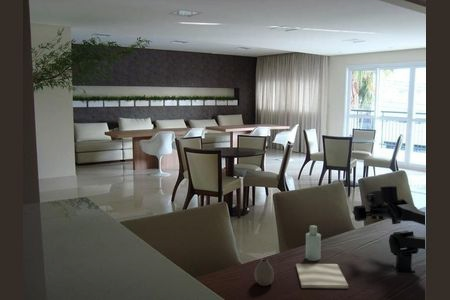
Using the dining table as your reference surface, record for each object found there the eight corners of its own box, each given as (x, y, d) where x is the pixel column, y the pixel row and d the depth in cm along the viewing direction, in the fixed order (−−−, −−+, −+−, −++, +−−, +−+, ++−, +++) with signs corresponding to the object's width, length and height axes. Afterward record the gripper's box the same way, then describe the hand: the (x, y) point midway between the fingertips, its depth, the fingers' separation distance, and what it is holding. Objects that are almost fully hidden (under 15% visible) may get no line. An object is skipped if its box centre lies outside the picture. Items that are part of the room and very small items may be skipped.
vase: (277, 283, 145) (277, 259, 144) (266, 289, 140) (265, 265, 139) (262, 277, 149) (262, 255, 148) (250, 284, 144) (250, 260, 143)
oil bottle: (321, 260, 164) (321, 228, 162) (306, 260, 164) (306, 228, 162) (319, 255, 170) (319, 224, 168) (304, 255, 170) (305, 224, 168)
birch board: (348, 288, 140) (348, 285, 139) (301, 287, 141) (301, 284, 140) (337, 266, 157) (337, 264, 157) (296, 266, 158) (296, 263, 158)
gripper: (401, 189, 166) (376, 190, 181) (364, 193, 160) (341, 194, 175) (405, 216, 165) (379, 215, 179) (367, 221, 159) (344, 220, 173)
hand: (361, 211), depth 177 cm, fingers open, 9 cm apart
